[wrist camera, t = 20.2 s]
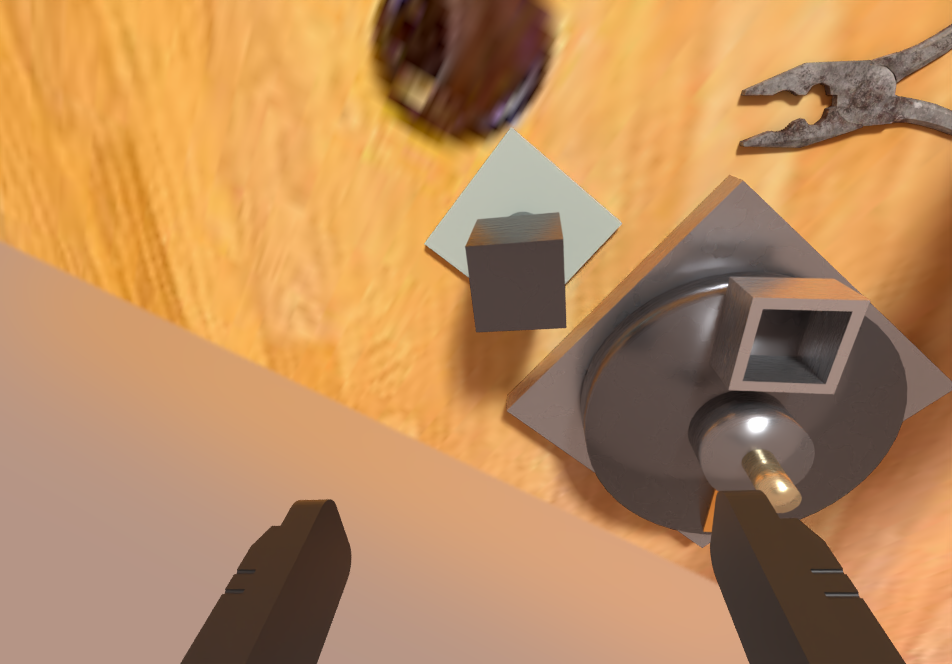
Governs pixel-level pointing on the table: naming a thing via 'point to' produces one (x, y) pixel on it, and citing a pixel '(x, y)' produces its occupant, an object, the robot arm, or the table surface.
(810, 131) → the pliers
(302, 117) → the table surface
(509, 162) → the mat
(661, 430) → the chuck collar
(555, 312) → the block
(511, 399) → the drill stand
